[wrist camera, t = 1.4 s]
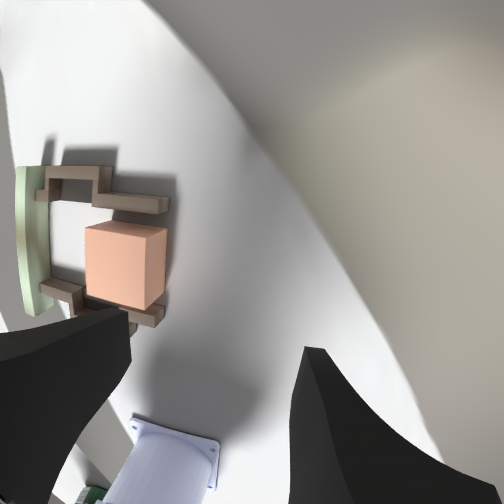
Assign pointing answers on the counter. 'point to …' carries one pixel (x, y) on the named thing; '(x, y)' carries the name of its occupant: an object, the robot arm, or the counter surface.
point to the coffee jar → (91, 495)
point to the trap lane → (37, 235)
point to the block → (125, 262)
